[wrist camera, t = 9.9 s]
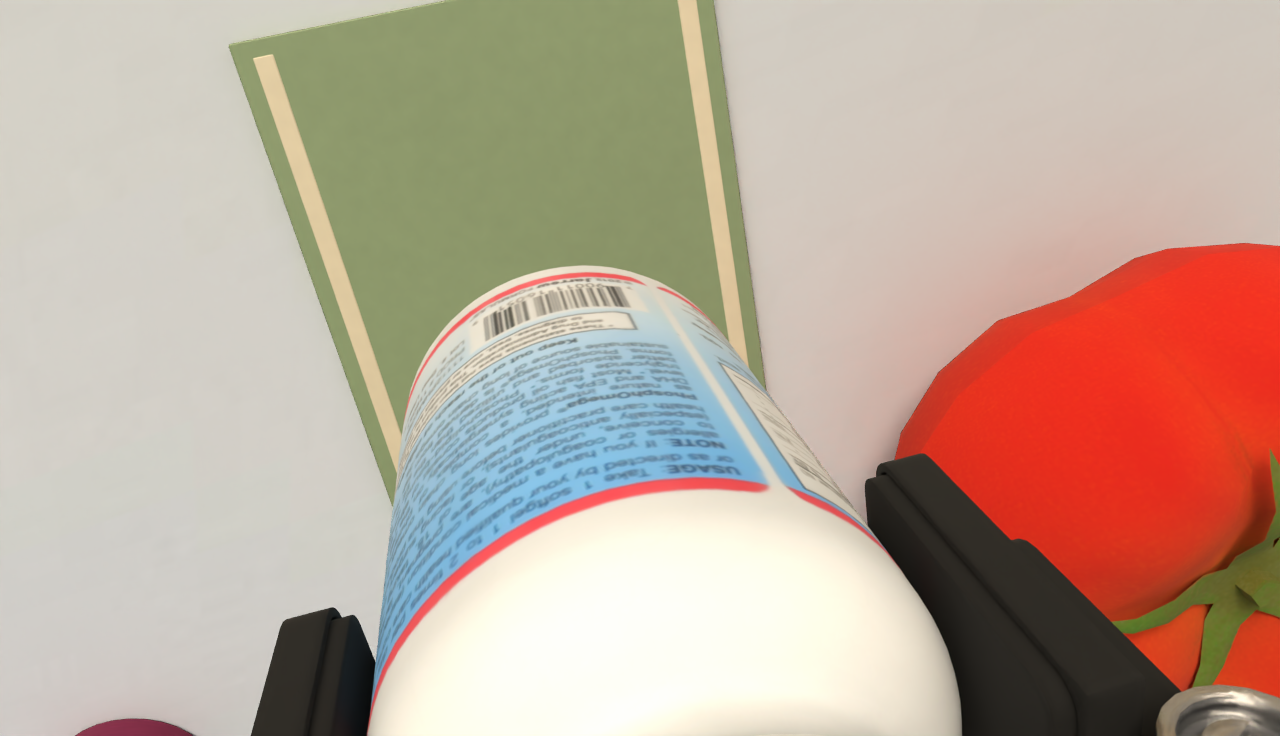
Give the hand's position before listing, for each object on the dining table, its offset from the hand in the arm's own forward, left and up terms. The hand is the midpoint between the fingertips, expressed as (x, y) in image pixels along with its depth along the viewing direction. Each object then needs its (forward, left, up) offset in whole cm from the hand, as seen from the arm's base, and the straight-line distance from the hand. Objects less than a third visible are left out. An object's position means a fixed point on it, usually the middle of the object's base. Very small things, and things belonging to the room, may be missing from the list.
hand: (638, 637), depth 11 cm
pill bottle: (0, 0, -6) cm, 6 cm away
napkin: (0, 0, -16) cm, 16 cm away
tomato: (+10, +16, -16) cm, 25 cm away
